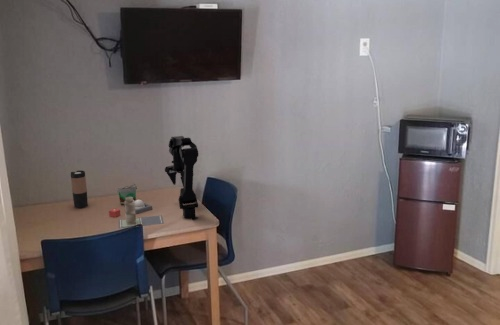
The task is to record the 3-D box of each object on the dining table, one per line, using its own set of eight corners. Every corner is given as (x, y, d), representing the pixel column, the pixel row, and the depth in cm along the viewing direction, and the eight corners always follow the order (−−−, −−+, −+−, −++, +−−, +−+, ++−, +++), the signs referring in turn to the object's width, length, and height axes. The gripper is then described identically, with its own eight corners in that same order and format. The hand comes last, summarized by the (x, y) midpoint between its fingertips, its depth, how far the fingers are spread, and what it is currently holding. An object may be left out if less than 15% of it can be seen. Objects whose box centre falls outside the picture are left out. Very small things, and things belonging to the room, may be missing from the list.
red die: (120, 216, 250) (119, 208, 249) (115, 219, 246) (114, 211, 245) (114, 215, 251) (113, 207, 250) (109, 218, 248) (108, 210, 247)
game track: (161, 217, 248) (161, 215, 248) (164, 225, 237) (163, 223, 237) (118, 221, 243) (118, 219, 242) (118, 230, 232) (118, 227, 231)
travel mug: (85, 208, 263) (82, 174, 258) (71, 208, 263) (68, 174, 258) (90, 204, 270) (86, 170, 265) (77, 204, 270) (73, 170, 265)
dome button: (147, 210, 258) (146, 199, 256) (137, 213, 253) (136, 202, 252) (140, 207, 262) (139, 197, 260) (130, 210, 258) (129, 199, 256)
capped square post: (134, 220, 241) (133, 196, 238) (136, 223, 237) (134, 198, 234) (125, 221, 240) (124, 197, 237) (126, 224, 236) (125, 199, 232)
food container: (125, 207, 264) (123, 190, 262) (118, 205, 268) (116, 188, 265) (142, 201, 274) (141, 185, 271) (135, 199, 277) (134, 183, 275)
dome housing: (152, 211, 258) (152, 205, 257) (135, 215, 251) (135, 210, 250) (141, 206, 265) (141, 201, 264) (125, 211, 258) (125, 206, 257)
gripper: (200, 159, 256) (201, 186, 260) (179, 153, 269) (180, 180, 273) (184, 162, 249) (185, 191, 253) (163, 157, 261) (165, 184, 265)
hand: (179, 186), depth 261 cm, fingers open, 9 cm apart
